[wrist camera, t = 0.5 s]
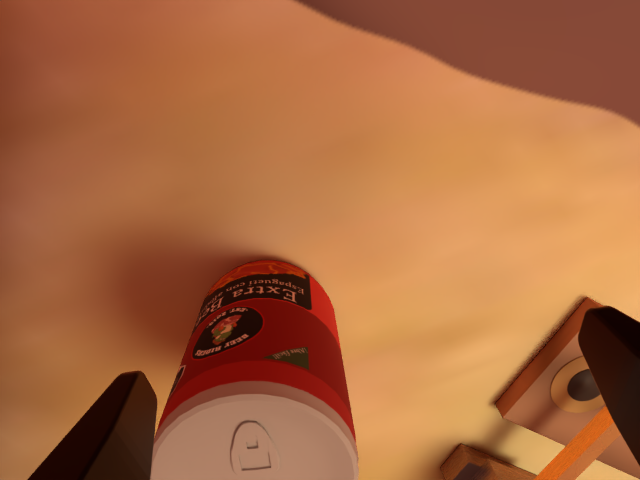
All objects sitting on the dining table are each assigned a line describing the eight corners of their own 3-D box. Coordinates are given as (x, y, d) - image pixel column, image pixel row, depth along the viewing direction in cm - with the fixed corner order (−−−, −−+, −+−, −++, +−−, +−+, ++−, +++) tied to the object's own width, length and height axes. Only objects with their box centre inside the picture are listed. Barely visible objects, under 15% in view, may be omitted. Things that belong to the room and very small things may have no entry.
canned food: (307, 236, 25) (318, 364, 14) (352, 350, 28) (387, 523, 17) (177, 281, 25) (99, 436, 15) (235, 389, 28) (203, 578, 18)
